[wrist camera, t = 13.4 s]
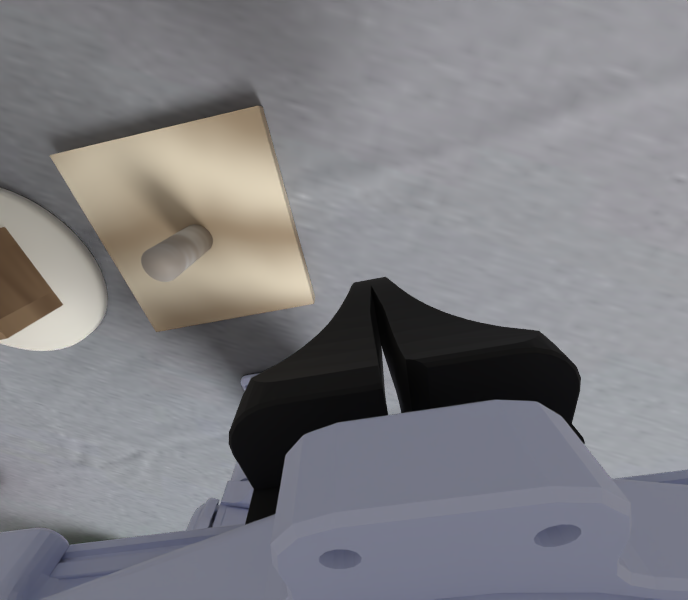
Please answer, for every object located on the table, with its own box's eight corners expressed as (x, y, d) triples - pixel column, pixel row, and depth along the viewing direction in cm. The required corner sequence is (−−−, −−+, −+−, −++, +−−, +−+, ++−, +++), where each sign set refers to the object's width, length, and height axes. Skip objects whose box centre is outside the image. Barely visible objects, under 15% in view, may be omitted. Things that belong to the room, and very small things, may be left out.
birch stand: (314, 297, 22) (307, 341, 17) (163, 324, 23) (116, 374, 18) (262, 107, 16) (230, 93, 11) (64, 154, 17) (-44, 160, 12)
